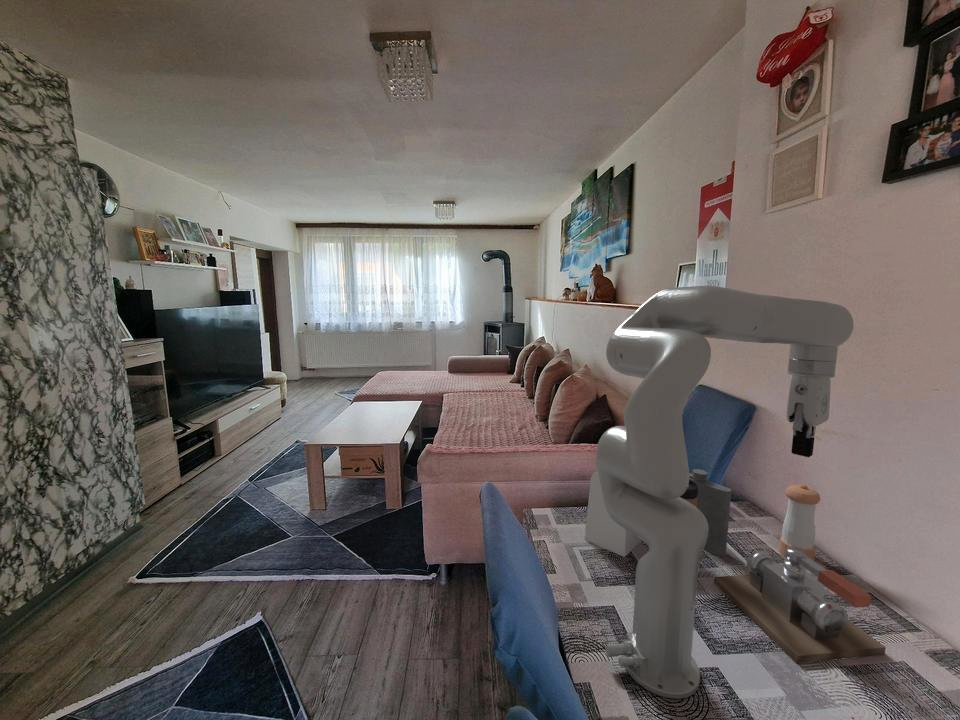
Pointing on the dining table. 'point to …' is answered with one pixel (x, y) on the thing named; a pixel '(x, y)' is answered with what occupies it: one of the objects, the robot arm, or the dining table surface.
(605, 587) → the dining table surface
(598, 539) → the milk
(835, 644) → the walnut board
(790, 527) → the salt shaker
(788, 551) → the lever
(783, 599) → the valve body
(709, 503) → the hip flask
